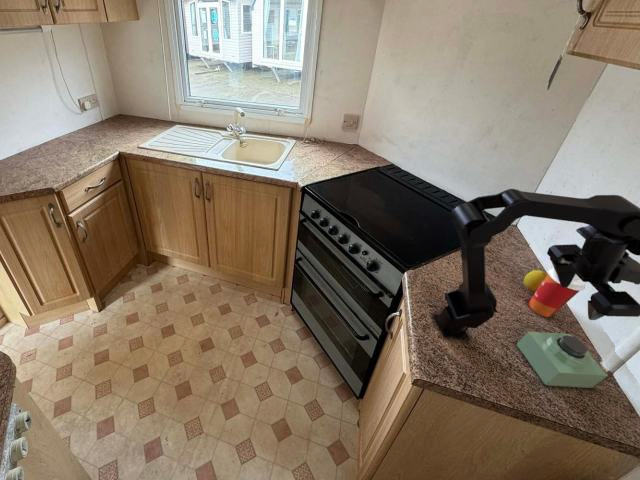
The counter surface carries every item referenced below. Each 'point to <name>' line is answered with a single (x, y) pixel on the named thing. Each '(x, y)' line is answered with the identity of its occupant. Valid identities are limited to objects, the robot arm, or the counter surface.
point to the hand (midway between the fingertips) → (577, 302)
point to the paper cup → (554, 294)
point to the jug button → (572, 346)
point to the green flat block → (559, 362)
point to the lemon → (534, 279)
